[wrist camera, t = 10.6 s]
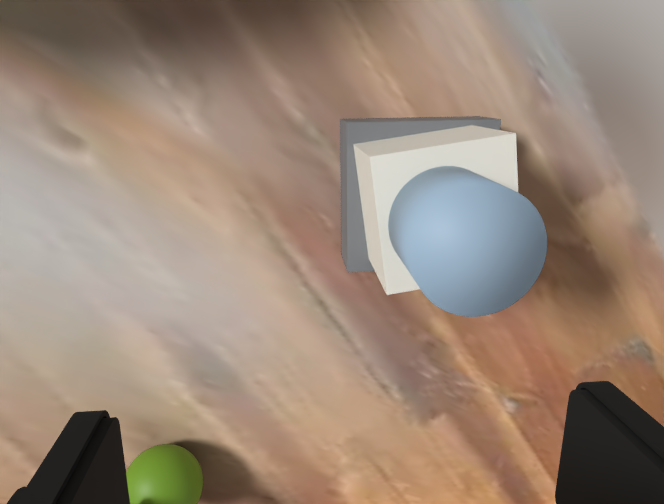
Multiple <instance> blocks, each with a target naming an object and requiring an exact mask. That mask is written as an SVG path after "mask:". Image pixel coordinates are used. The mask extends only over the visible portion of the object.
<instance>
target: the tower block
mask: <svg viewBox="0 0 664 504" xmlns="http://www.w3.org/2000/svg"><path fill="white" fill-rule="evenodd" d="M353 145H354V153H355V160H356V168H357V175H358V183H359V190H360V197H361V205H362V212H363V220H364V227H365V235H366V242H367V250H368V257H369V260H370V262H371V264H372V266H373V268H374V270H375V272H376V274H377V276H378V278H379V280H380V282H381V284H382V286H383V288H384V290H385V292H386V294H387V295H389V294H395V293H401V292H407V291H412V290H418V289H420V288H419V286H418V285H417V283H416V282H415V280H414V279H413V277H412V276H411V274H410V273H409V271H408V270H407V268H406V267H405V265H404V264H403V262H402V261H401V259H400V258H399V256H398V255H397V253H396V252H395V250H394V248H393V246H392V243H391V241H390V237H389V231H388V220H389V214H390V210H391V207H392V204H393V202H394V200H395V198H396V196H397V194H398V193H399V191H400V190H401V189H402V188H403V186H404V185H405V184H406V183H407V182H408V181H410V180H411V179H412V178H413V177H415V176H416V175H418V174H420V173H422V172H423V171H426V170H428V169H431V168H435V167H440V166H456V167H461V168H465V169H468V170H470V171H472V172H474V173H476V174H479V175H481V176H483V177H485V178H488V179H490V180H492V181H494V182H496V183H499V184H501V185H503V186H505V187H507V188H510V189H512V190H514V191H516V192H518V172H517V147H516V133H512V132H507V131H502V130H496V129H491V128H485V127H480V126H474V125H470V126H464V127H458V128H451V129H445V130H439V131H433V132H426V133H420V134H414V135H408V136H402V137H395V138H389V139H383V140H377V141H370V142H364V143H358V144H353Z"/></svg>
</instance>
